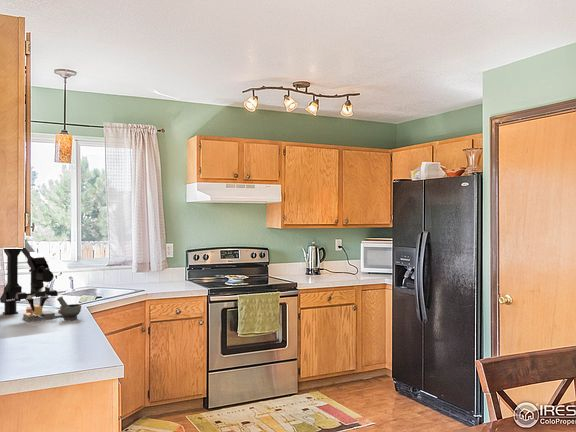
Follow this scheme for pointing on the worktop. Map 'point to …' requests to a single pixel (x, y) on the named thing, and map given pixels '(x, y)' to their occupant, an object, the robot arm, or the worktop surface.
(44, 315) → the slot rack
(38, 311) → the ochre plug
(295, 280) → the worktop surface
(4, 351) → the worktop surface
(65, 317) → the mortar and pestle
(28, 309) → the brick plug
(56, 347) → the worktop surface
